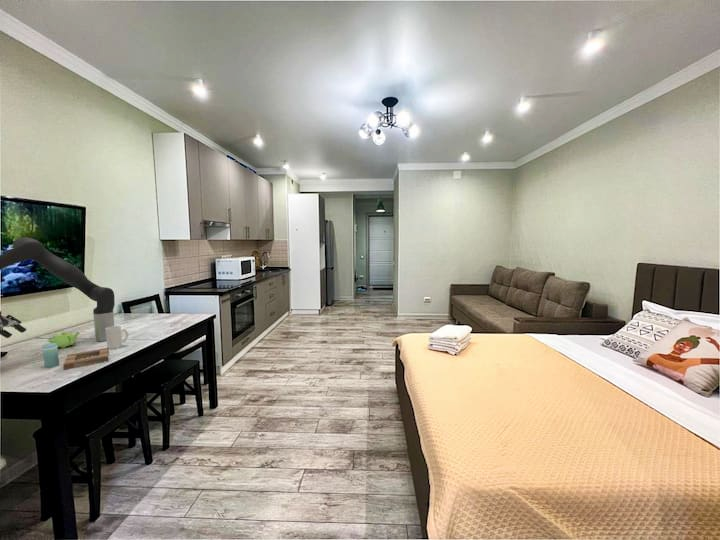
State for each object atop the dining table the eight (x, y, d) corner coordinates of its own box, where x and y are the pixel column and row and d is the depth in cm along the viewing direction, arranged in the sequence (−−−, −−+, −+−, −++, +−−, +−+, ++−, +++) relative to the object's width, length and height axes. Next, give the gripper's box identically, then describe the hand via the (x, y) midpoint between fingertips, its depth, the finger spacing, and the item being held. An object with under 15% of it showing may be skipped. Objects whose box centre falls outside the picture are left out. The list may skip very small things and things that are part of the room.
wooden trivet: (68, 359, 147) (67, 354, 147) (108, 351, 157) (108, 347, 157) (63, 369, 135) (63, 365, 135) (108, 361, 145) (107, 356, 145)
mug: (104, 350, 159) (103, 329, 158) (109, 346, 165) (108, 326, 164) (126, 347, 163) (125, 327, 162) (130, 344, 169) (129, 324, 168)
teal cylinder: (45, 365, 139) (43, 344, 138) (59, 362, 142) (57, 341, 141) (43, 368, 136) (41, 346, 135) (58, 366, 139) (56, 344, 138)
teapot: (75, 347, 163) (74, 333, 162) (47, 351, 156) (45, 336, 156) (81, 341, 172) (79, 328, 171) (54, 345, 166) (53, 331, 165)
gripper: (-26, 309, 122) (12, 332, 127) (2, 302, 136) (35, 323, 141) (-42, 321, 121) (-3, 344, 126) (-12, 314, 134) (22, 335, 139)
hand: (17, 333), depth 133 cm, fingers open, 8 cm apart
